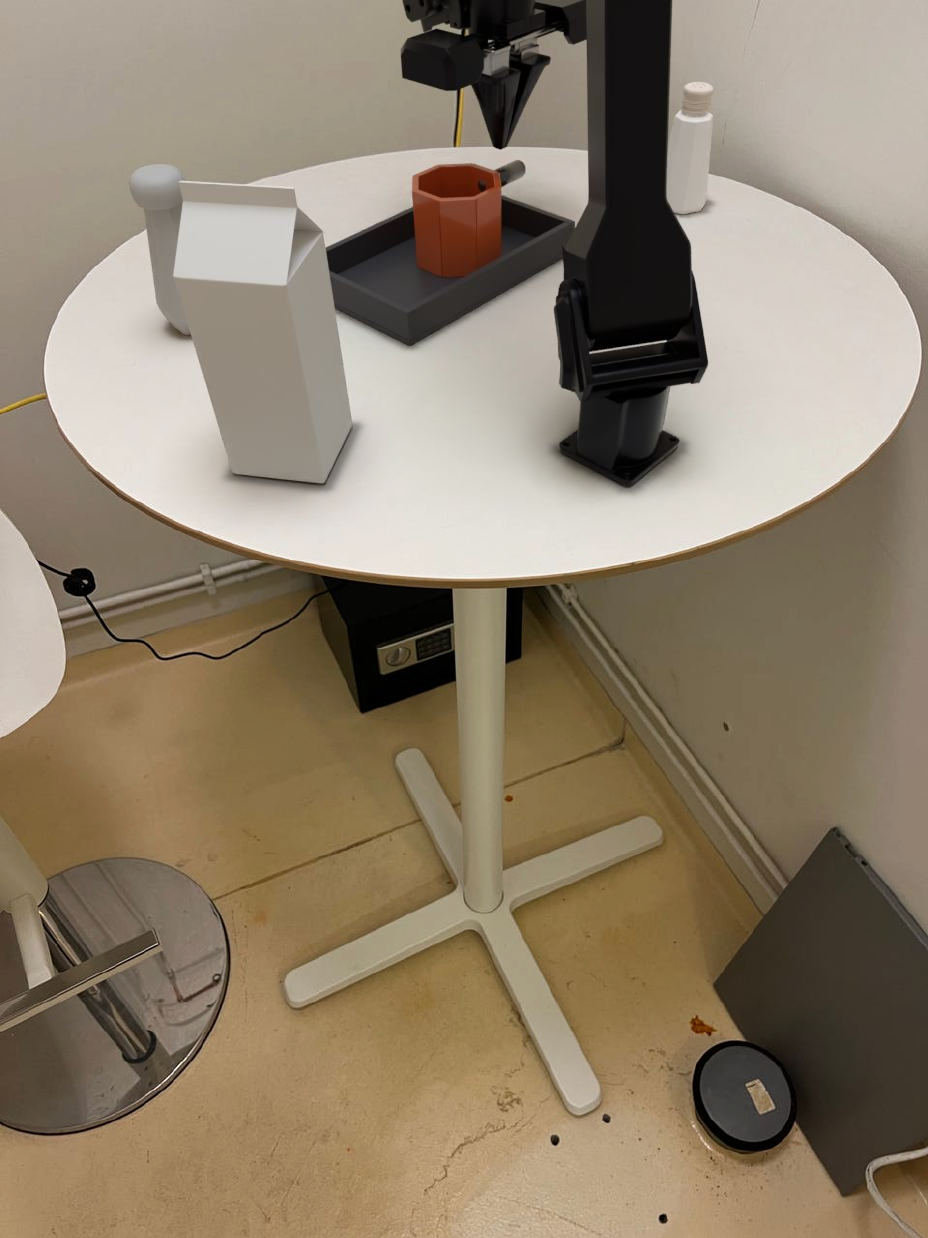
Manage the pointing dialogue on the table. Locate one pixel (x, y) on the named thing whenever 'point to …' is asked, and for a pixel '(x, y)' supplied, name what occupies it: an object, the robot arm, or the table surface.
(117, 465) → the table surface
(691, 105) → the pepper shaker
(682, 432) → the table surface
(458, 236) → the pot
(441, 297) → the black tray
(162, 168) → the salt shaker
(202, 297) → the milk carton
